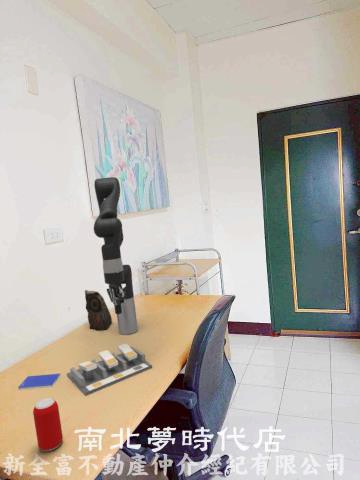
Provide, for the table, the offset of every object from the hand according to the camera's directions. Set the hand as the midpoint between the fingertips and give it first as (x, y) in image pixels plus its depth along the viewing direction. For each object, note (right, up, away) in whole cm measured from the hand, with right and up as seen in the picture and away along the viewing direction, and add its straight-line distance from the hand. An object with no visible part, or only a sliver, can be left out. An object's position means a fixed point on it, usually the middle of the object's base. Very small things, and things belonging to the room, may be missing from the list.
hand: (118, 313), depth 135 cm
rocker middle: (-3, -16, -6) cm, 18 cm away
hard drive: (-27, -24, -8) cm, 37 cm away
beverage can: (-10, -26, -44) cm, 52 cm away
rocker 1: (-9, -17, -10) cm, 22 cm away
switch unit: (-2, -21, -5) cm, 22 cm away
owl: (-17, -17, +46) cm, 52 cm away
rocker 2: (+3, -15, -1) cm, 16 cm away
